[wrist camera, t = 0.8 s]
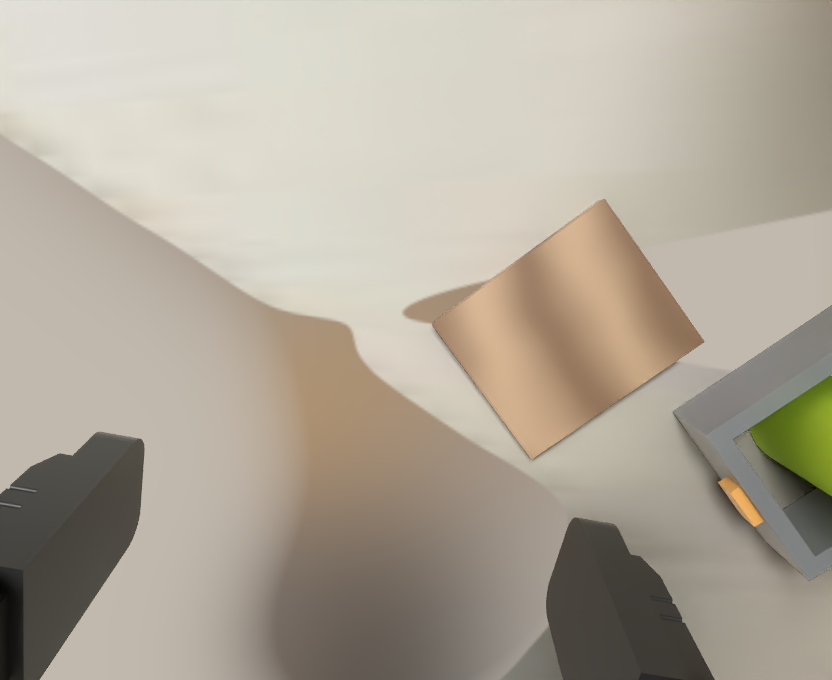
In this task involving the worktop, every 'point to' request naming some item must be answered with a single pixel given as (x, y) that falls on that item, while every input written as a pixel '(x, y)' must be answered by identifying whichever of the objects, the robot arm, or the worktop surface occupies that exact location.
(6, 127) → the worktop surface
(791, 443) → the soap dispenser
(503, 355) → the light brown board
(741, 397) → the gray square frame
